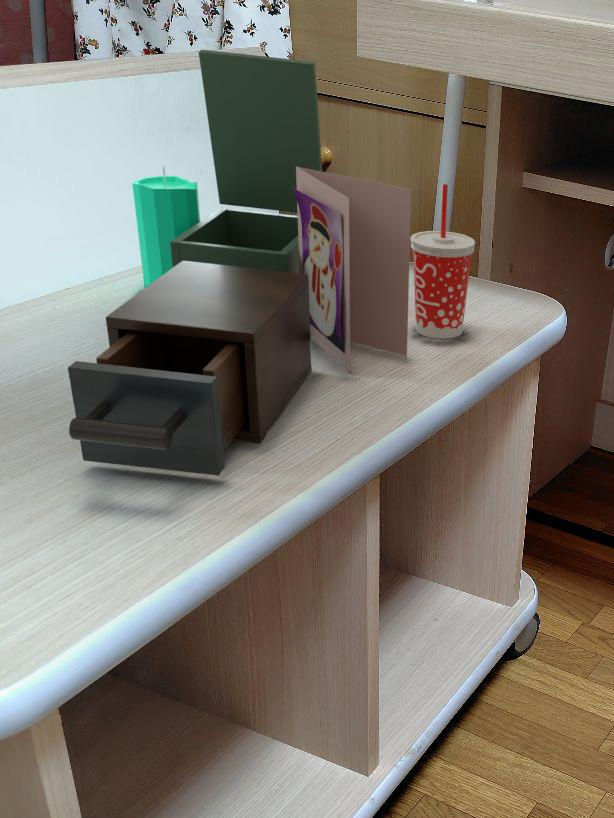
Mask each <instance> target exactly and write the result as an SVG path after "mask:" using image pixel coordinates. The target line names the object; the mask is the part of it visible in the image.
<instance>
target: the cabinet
mask: <svg viewBox="0 0 614 818" xmlns="http://www.w3.org/2000/svg"><path fill="white" fill-rule="evenodd" d="M308 283H309V279H308V274H299V273H290V272H281V271H272V270H263V269H254V268H245V267H236V266H227V265H218V264H209V263H199V262H190V261H181V262H180V263H179V264H177V265H176V266H175V267H173V268H172V269H170V270H169V271H168V272H166V273H165V274H164V275H162V276H161V277H160V278H158V279H157V280H156V281H154V282H153V283H151V284H150V285H149V286H147V287H146V288H145V287H144V288H143V289H141V291H139V292H138V293H136V294H135V295H133V297H131V298H130V299H128V300H127V301H125V302H124V303H123V304H122V305H119V307H118V308H116V309H115V310H114V311H112V312H110V314H108V315H106V316H105V323H106V331H107V337H108V339H107V340H108V345H109V347H111V346H112V345H113V344H114V343H116V342H117V341H118V340H119V339H121V338H122V337H123V336H124V335H126V334H127V333H128V332H129V331H131V330H134V331H143V332H152V333H161V334H170V335H179V336H188V337H197V338H206V339H215V340H224V341H233V342H242V343H244V352H245V367H246V382H247V396H248V411H249V418H248V420H247V421H246V422H245V424H244V425H243V426H242V428H241V429H240V430H239V431H238V433H237V434H236V435H235V437H234V438H233V439H232V441H239V442H248V443H257V444H258V443H259V444H261V443H262V442H263V440H264V439H265V437H266V436H267V435H268V433H269V432H270V430H271V429H272V428H273V426H274V425H275V423H276V422H277V420H278V419H279V418H280V416H281V415H282V413H283V412H284V411H285V409H286V408H287V406H288V405H289V404H290V402H291V401H292V400H293V397H295V395H296V394H297V392H298V391H299V389H300V388H301V387H302V385H303V384H304V382H306V379H307V378H308V377H309V375H310V374H311V372H312V351H311V349H312V348H311V345H312V344H311V338H310V312H309V285H308Z"/></svg>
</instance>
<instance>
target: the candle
mask: <svg viewBox="0 0 614 818" xmlns="http://www.w3.org/2000/svg"><path fill="white" fill-rule="evenodd" d="M162 174H163V175H156V176H147V177H146V176H145V177H143V178H140V179H138V180H135V181H134V182H132V191H133V192H132V193H133V199H134V200H133V201H134V210H135V219H136V225H137V226H136V227H137V234H138V242H139V243H138V244H139V251H140V261H141V268H142V276H143V285H144V289H145V288H146V287H147V286H149V285H150V284H151V283H153V282H154V281H156V280H157V279H158V278H160V277H161V276H162V275H164V274H165V273H166V272H168V271H169V270H170V269H172V268H173V265H172V256H171V246H170V242H171V241H172V240H174V239H175V238H177V237H178V236H180V235H181V234H183V233H184V232H186V231H187V230H189V229H190V228H192V227H193V226H195V225H196V224H197V223H199V222H200V221H201V215H200V203H199V202H200V201H199V190H198V182H197V181H190V180H187V179H186V178H182V177H181V176H178V175H166V170H165V165H162Z"/></svg>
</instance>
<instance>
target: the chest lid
mask: <svg viewBox="0 0 614 818" xmlns="http://www.w3.org/2000/svg"><path fill="white" fill-rule="evenodd" d="M198 58H199V65H200V72H201V79H202V80H201V81H202V88H203V94H204V101H205V108H206V118H207V122H208V129H209V130H208V131H209V137H210V144H211V145H210V146H211V151H212V160H213V166H214V172H215V174H214V175H215V180H216V188H217V195H218V202H219V205H225V206H234V207H241V208H242V207H243V208H251V209H262V210H269V211H278V212H287V213H288V212H289V213H297V214H298V211H297V200H296V197H295V194H294V191H293V189H292V187H293V188H295V189H296V190H297V182H296V167H301V168H306V169H311V170H316V171H321V172H323V162H322V146H321V132H320V117H319V115H320V114H319V103H318V102H319V100H318V88H317V73H316V62H315V61H310V60H309V61H308V60H301V59H291V58H282V57H272V56H263V55H255V54H245V53H239V52H238V53H237V52H236V53H235V52H229V51H228V52H227V51H217V50H209V49H200V50H199V51H198Z"/></svg>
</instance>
